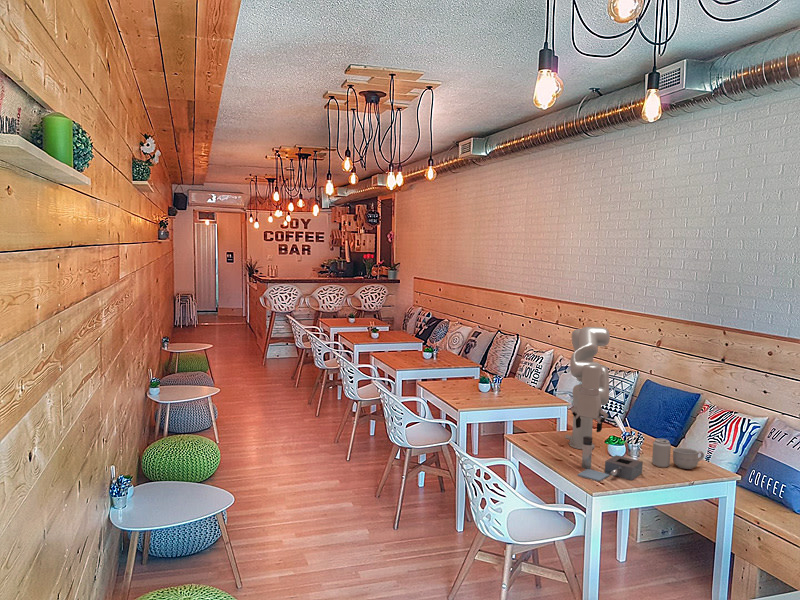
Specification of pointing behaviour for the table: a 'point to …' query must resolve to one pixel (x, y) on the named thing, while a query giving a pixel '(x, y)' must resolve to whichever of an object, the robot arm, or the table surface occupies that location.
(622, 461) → the block
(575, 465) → the table surface
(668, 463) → the can
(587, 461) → the grey tall cylinder
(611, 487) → the table surface
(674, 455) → the teacup
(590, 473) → the mat
